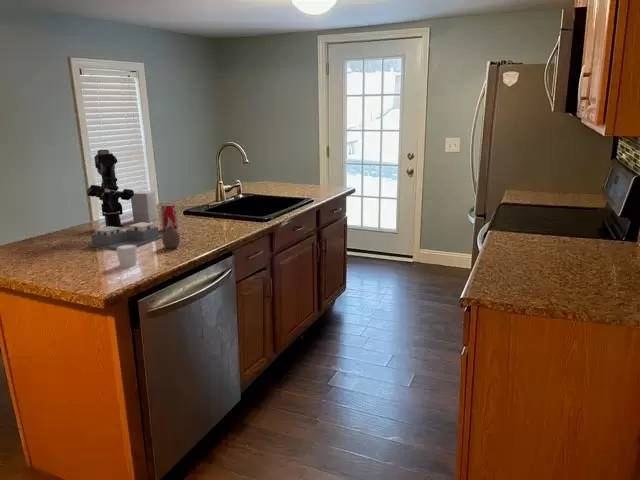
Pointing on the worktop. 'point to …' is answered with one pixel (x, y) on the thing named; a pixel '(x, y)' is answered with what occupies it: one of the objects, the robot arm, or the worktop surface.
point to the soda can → (169, 215)
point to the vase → (171, 238)
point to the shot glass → (127, 255)
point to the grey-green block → (108, 230)
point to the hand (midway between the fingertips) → (113, 209)
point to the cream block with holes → (141, 226)
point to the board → (125, 238)
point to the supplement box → (144, 206)
